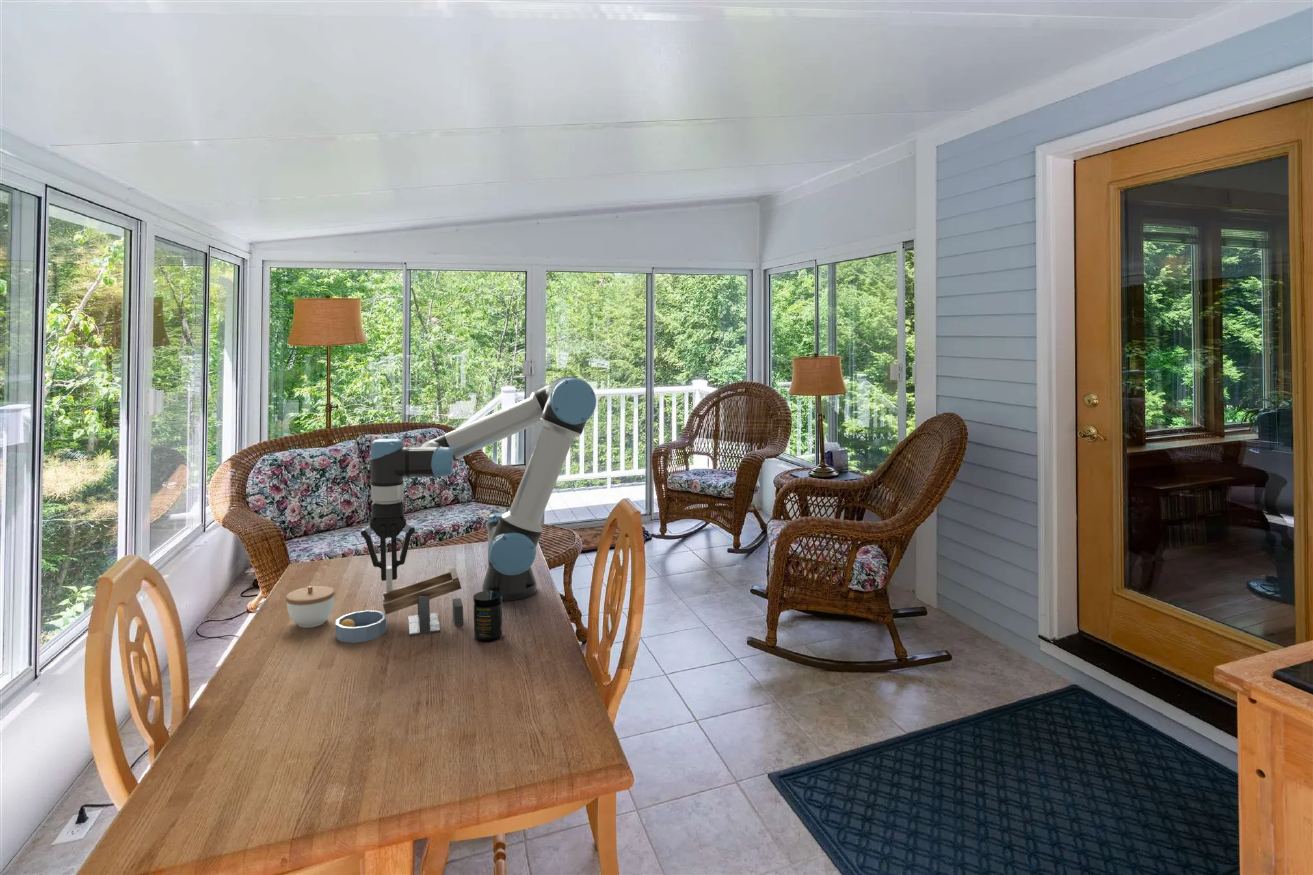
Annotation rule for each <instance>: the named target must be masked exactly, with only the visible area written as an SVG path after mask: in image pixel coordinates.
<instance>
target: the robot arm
mask: <svg viewBox="0 0 1313 875" xmlns="http://www.w3.org/2000/svg"><path fill="white" fill-rule="evenodd" d="M596 396H597V395H596V393H595V391H594V389H593V387H592V386H591V385H590V383H588V382H587V381H585V380H584V379H582V378H579V377H576V376H562V377H559V378H556V379H555V380H553V381H551V382H550V383H548V384H546V385H544V386H543V387H541V388H539V389H537V390H535V391H532V392H531V394H530V397H528V398H525V399H523V400H521V401H519V402H515V403H514V404H512V405H509V406H507V407H505V408H501V409H500V410H498V411H495V412H493V413H491V414H489V415H485V416H484V417H482V418H480V419H477V420H475V421H472V422H471V423H468V424H465V425H463V426H461V427H458V428H457V429H454V430H452V431H449V432H447V433H445V434H443V435H440V436H438V437H436V438H434V439H433V438H432V439H428V440H426V441H424V442H422V444H421V445H420V446H419V447H417V446H415V447H413V446H412V447H410V446H408V447H407V446H404V442H403V440H402V439H399V438H379V439H374V440H373V441H372V442H371V444H370V458H369V460H370V464H369V465H370V495H371V496H370V497H371V501H372V503H371V520H370V522H369V525H367V526H366V527H365V528H362V529H360V535H361V536H362V538H363V539H364V540H365V543H366V546H367V549H368V552H369V557H370V559H371V563H372V565H373V567H374V568H379V569H380V580H381V581H383V582H385V585H386V586H385V589H386V590H385V592H386V593H387V592H390V591H392V590H393V581H394V580H395V581H396V580H397V579H398V567H399V566H401V565H404V564H405V563H406V558H407V553H408V550H409V546H410V541H411V539H412V536H413V534H414V533H415V531H416V527H415V525H411V524H409V523H407V520H406V518H405V504H404V503H405V502H404V501H403V500H404V499H405V495H404V494H405V493H404V492H405V491H404V490H405V488H404V485H405V484H404V483H405V482H404V478H432V477H433V478H441V477H450V476H451V475H453V472H454V461H457V459H460V458H462V457H465V456H467V455H470V454H472V453H474V452H476V451H477V452H478V450H481V449H483V448H486V447H488V446H490V445H492V444H495V443H496V442H499V441H501V440H504V439H506V438H508V437H511V436H513V435H515V434H518V433H520V432H521V431H524V430H527V429H529V428H531V427H533V426H536V425H538V424H540V423H541V425H542V427H541V430H540V432H539V435H538V438H537V440H536V443H535V446H534V448H533V450H532V453H531V456H530V458H529V460H528V463H527V465H526V468H525V469H524V470H525V471H524V473H523V475H522V478H521V480H520V483H519V485H518V488H517V491H516V493H515V496H514V498H513V501H512V503H511V506H510V508H509V510H508V511H505V512H503V511H502V512H495V513H491V514H489V515H488V517H487V523H486V526H487V560H488V563H487V566H488V567H487V568H486V569H487V570H486V573H485V576H484V579H483V583H482V588H481V589H482V590H481V592H482V591H498V592H501V593H502V602H503V601H507V602H508V601H517V600H522V599H526V598H529V597H531V596H533V595H534V594H535V593H536V592H537V581H536V578H535V575H534V572H533V569H532V565H533V564H534V562H535V560H536V555H537V546H538V543H539V540H540V539H541V535H542V533H543V530H544V529H543V526H542V524H541V520H542V517H543V515H544V513H545V511H546V507H547V505H548V504H549V501H550V498H551V496H552V493H553V491H554V488H555V485H556V482H557V481H558V477H559V475H560V474H561V471H562V468H563V466H564V464H565V460H566V458H567V456H568V454H569V450H570V448H571V445H572V443H573V441H574V439H575V438H577V437H579V436H582V434H583V431H584V429H585V426H586V424H587V422H588V420H589V419H590V418H591V417H592V415H593V414H594V412H595V411H596V410H595V409H596V407H597V397H596ZM403 529H404V533H405V536H404V540H403V544H402V548H401V552H400V555H399V558H398V556H397V555H398V552H397V551H398V550H397V547H398V546H397V545H398V544H397V543H398V542H397V539H398V537H399V535H400V534H401V532H402V531H403ZM372 531H373V532H374V533H375V535H376V536H377V537H378V538H379V539H380V540H379V541H380V543H379V544H380V560H379V559H378V555H377V553H376V548H375V546H374V543H373V539H372V536H371V535H372V534H373V533H372ZM388 538H390V539H391V565H387V544H386V542H387V540H386V539H388ZM530 595H531V596H530Z"/></svg>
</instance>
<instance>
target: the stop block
mask: <svg viewBox="0 0 1313 875" xmlns="http://www.w3.org/2000/svg"><path fill="white" fill-rule="evenodd" d="M463 604H464V603H463V601H462V598H461V597H459V598H452V619H453V623H454V626H461V625H464V606H463Z"/></svg>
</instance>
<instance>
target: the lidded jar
mask: <svg viewBox="0 0 1313 875" xmlns="http://www.w3.org/2000/svg"><path fill="white" fill-rule="evenodd" d="M285 601H286V608H287V613H288V616H289V618H290V620H291V621H292V622H293V623H294V624H296V625H297V626H298V627H300V628H304V629H305V628H306V629H307V628H315V627H318V626H322V625H323V624H325V623H326V621H327V620H328V619H329V617H330V616H331V614H332V613H333V610H334V606H335V589H334V588H333V587H330V586H325V585H315V586H312V585H308V586H307V587H301V588H298V589H294V590H292V591H291V592H288V593H287V594H286V596H285Z"/></svg>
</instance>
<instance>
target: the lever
mask: <svg viewBox="0 0 1313 875" xmlns="http://www.w3.org/2000/svg"><path fill="white" fill-rule="evenodd" d="M459 590H462V585H461V581H460V579H459V576H458V573H457V569H456V568H451V569H449V571H447V572H444V573H440V574H438V575H435V576H432V577H429V578H426V579H422V580H420V581H417V582H413V583H411V584H408V585H405V586H399V587H397V588H394V589H392V591H390V592H387V593H386V591H385V592H382V602H383V603H382V607H383V610H384V613H385V614H386V615H388V614H391V613H395V612H398V611H400V610H404V609H407V608H410V607H412V606H416V605H418V603H419V596H420V595H429V601H430V600H433V599H435V598H438V597H440V596H444V595H446V594H450V593H452V592H455V591H459Z"/></svg>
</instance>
